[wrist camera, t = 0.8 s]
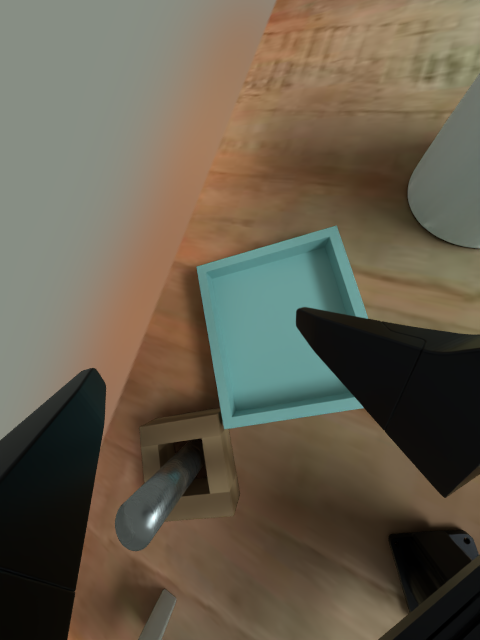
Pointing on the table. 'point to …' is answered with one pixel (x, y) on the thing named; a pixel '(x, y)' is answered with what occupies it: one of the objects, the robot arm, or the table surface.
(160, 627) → the lighter
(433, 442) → the robot arm
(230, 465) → the pin holder
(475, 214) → the utensil holder
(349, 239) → the table surface
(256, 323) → the tray
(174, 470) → the pin
